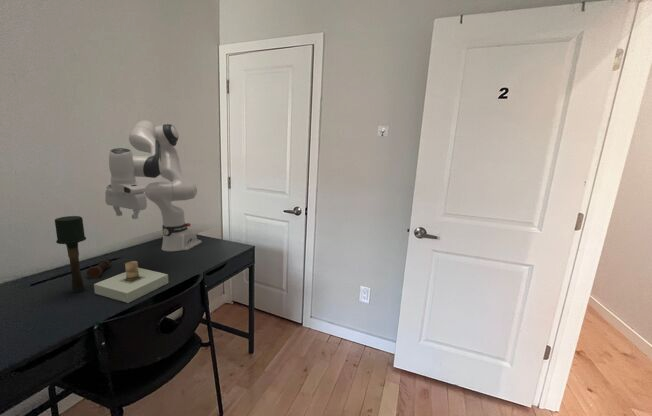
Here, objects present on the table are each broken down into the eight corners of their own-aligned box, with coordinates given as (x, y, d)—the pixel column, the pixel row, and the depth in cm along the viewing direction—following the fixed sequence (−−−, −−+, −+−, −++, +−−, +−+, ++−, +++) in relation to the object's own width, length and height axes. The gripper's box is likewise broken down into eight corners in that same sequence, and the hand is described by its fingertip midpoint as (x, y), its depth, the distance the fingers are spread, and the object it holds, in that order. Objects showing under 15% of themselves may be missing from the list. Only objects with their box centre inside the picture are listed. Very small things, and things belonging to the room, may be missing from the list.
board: (138, 275, 127) (137, 267, 126) (168, 283, 122) (167, 274, 121) (94, 293, 110) (93, 283, 110) (128, 303, 105) (127, 293, 104)
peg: (134, 284, 119) (132, 260, 117) (142, 286, 118) (140, 262, 115) (124, 289, 115) (122, 264, 113) (132, 291, 114) (130, 265, 111)
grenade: (84, 283, 117) (75, 214, 112) (97, 288, 114) (88, 217, 108) (59, 292, 110) (48, 218, 104) (71, 298, 107) (61, 221, 101)
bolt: (110, 268, 137) (96, 281, 123) (99, 264, 136) (83, 276, 122) (116, 258, 138) (103, 269, 123) (105, 254, 136) (90, 265, 122)
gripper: (99, 184, 121) (102, 215, 125) (134, 190, 116) (137, 222, 119) (113, 183, 127) (116, 212, 130) (148, 188, 122) (150, 218, 125)
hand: (127, 217), depth 125 cm, fingers open, 8 cm apart
